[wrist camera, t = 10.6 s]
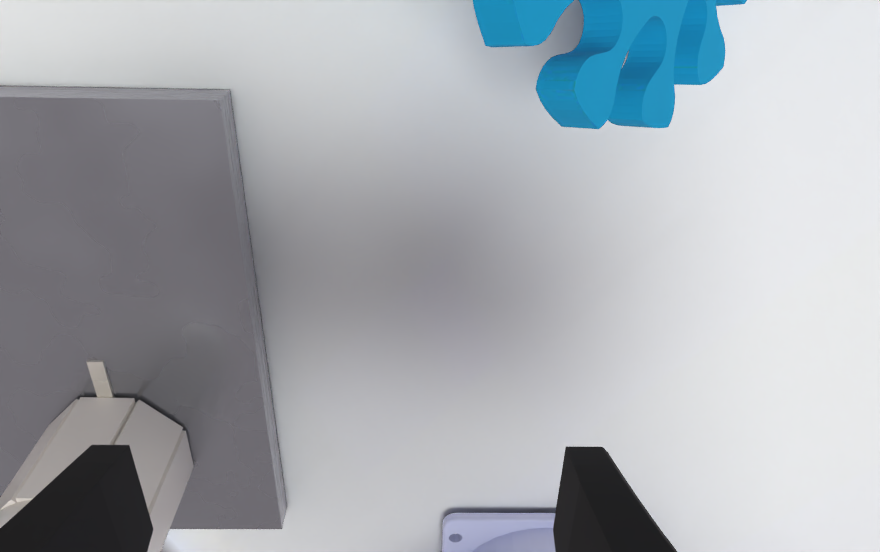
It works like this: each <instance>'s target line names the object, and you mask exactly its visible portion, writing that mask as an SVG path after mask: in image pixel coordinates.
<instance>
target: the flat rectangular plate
mask: <svg viewBox="0 0 880 552" xmlns="http://www.w3.org/2000/svg"><path fill="white" fill-rule="evenodd" d="M80 397H100V398H135V402H137V401H138V400H141V401H142V402H144V403H146V404H147V405H149V406H150V407H152V408H153V409H155V410H157V411H158V412H160V413H161V414H163V415H164V416H166V417H168V418H169V419H171V420H172V421H174V422H175V423H177V424H179V425H180V426H182V427H183V429H182V430H183V431H186V434H187V438H188V443H189V447H190V452H191V456H192V461H193V465H194V467H193V470H192V472H191V475H190V478H189V480H188V483H187V485H186V488H185V491H184V493H183V496H182V498H181V501H180V503H179V506H178V509H177V511H176V514H175V516H174V519H173V522H172V524H171V527H170V529H282V527H283V522H284V518H285V513H286V509H287V505H286V497H285V490H284V483H283V475H282V468H281V461H280V453H279V446H278V439H277V431H276V424H275V417H274V409H273V402H272V395H271V387H270V380H269V373H268V365H267V358H266V351H265V343H264V336H263V329H262V321H261V314H260V307H259V299H258V292H257V285H256V277H255V270H254V263H253V255H252V248H251V241H250V233H249V226H248V219H247V211H246V204H245V197H244V189H243V182H242V175H241V167H240V160H239V153H238V145H237V138H236V131H235V123H234V116H233V109H232V101H231V94H230V90H209V89H149V88H90V87H31V86H0V497H1V496H2V494H3V493H4V491H5V490H6V488H7V487H8V485H9V484H10V482H11V481H12V479H13V478H14V476H15V475H16V473H17V472H18V470H19V469H20V467H21V466H22V464H23V463H24V461H25V460H26V458H27V457H28V455H29V454H30V452H31V451H32V449H33V448H34V446H35V445H36V443H37V442H38V440H39V439H40V437H41V436H42V434H43V433H44V431H45V430H46V428H47V427H48V425H49V424H51V423H52V422H53V421H54V420H55V419H56V418H57V417H58V416H59V415H60V414H61V413H62V412H63V411H64V410H65V409H66V408H67V407H68V406H69V405H70V404H71V403H72V402H73V401H74V400H76V399H78V400H79V399H80Z"/></svg>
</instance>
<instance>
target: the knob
mask: <svg viewBox="0 0 880 552" xmlns="http://www.w3.org/2000/svg"><path fill="white" fill-rule="evenodd" d="M182 429H183V427H182V426H180V425H179V424H177V423H175V422H174V421H172V420H171V419H169V418H168V417H166V416H164V415H163V414H161V413H160V412H158V411H157V410H155V409H153V408H152V407H150V406H149V405H147V404H146V403H144V402H142V401H141V400H138V401H137V402H135V398H100V397H80V399H79V400H78V399H76V400H74V401H73V402H72V403H71V404H70V405H69V406H68V407H67V408H66V409H65V410H64V411H63V412H62V413H61V414H60V415H59V416H58V417H57V418H56V419H55V420H54V421H53V422H52V423H51V424H49V425H48V427H47V428H46V430H45V431H44V433H43V434H42V436H41V437H40V439H39V440H38V442H37V443H36V445H35V446H34V448H33V449H32V451H31V452H30V454H29V455H28V457H27V458H26V460H25V461H24V463H23V464H22V466H21V467H20V469H19V470H18V472H17V473H16V475H15V476H14V478H13V479H12V481H11V482H10V484H9V485H8V487H7V488H6V490H5V491H4V493H3V494H2V496H1V497H0V528H1V527H2V526H3V525H4V524H6V523H7V522H8V521H9V520H10V519H11V518H12V517H13V516H14V515H16V514H17V513H18V512H19V511H20V510H21V509H22V508H23V507H24V506H25V505H26V504H28V503H29V502H30V501H31V500H32V499H33V498H34V497H35V496H36V495H37V494H38V493H40V492H41V491H42V490H43V489H44V488H45V487H46V486H47V485H48V484H49V483H50V482H51V481H53V480H54V479H55V478H56V477H57V476H58V475H59V474H60V473H61V472H62V471H63V470H65V469H66V468H67V467H68V466H69V465H70V464H71V463H72V462H73V461H74V460H75V459H77V458H78V457H79V456H80V455H81V454H82V453H83V452H84V451H85V450H87V449H88V448H89V447H90V446H91V445H129V446H130V449H131V453H132V456H133V460H134V463H135V467H136V470H137V474H138V477H139V480H140V484H141V487H142V491H143V494H144V498H145V501H146V505H147V508H148V512H149V515H150V519H151V522H152V526H153V533H152V537H151V540H150V544H149V547H148V551H147V552H161V550H162V548H163V545H164V542H165V540H166V537H167V535H168V532H169V529H170V527H171V524H172V522H173V519H174V516H175V514H176V511H177V509H178V506H179V503H180V501H181V498H182V496H183V493H184V491H185V488H186V485H187V483H188V480H189V478H190V475H191V472H192V470H193V467H194V465H193V461H192V456H191V452H190V447H189V443H188V438H187V434H186V431H183V430H182Z"/></svg>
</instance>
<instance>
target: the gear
mask: <svg viewBox="0 0 880 552" xmlns="http://www.w3.org/2000/svg"><path fill="white" fill-rule="evenodd" d="M573 1H574V0H473V4H474V9H475V13H476V17H477V21H478V24H479V27H480V30H481V33H482V36H483V39H484V42H485V45H486V46H490V47H513V46H534V45H539V44H540V43H542V42H543V41H545V40H546V39H547V37H548V36H549V35H550V34H551V32H552V30H553V28H554V26H555V24H556V22H557V20H558V19H559V17H560V16H561V14H562V13H563V12H564V10H565V9H566V8H567V7H568V6H569V5H570V4H571V3H572V2H573ZM579 1H580V3H581V6H582V9H583V15H584V27H583V33H582V37H581V39H580V42H579V44H578V45H577V47H576V48H575V49H574V50H573V51H571V52H569V53H565V54H560V55H556V56H554V57H551V58H550V59H549V60H548V61H547V62H546V63H545V65H544V66H543V68H542V70H541V72H540V74H539V77H538V80H537V85H536V91H537V93H538V96H539V98H540V101H541V102H542V104H543V106H544V107H545V109H546V110H547V112H548V113H549V114H550V115H551V116H552V118H553V119H555V120H556V121H557V122H558V123H559V124H560V125H561V126H563V127H577V128H592V129H599V128H601V127H602V126H603V125H604V124H605V122H606V121H607V120H609V121H610V122H611V123H613V124H616V125H621V126H636V127H651V128H665V127H668V126H669V124H670V122H671V119H672V115H673V111H674V104H675V92H674V84H684V85H702V84H706V83H708V82H709V81H711V80H712V79H713V78H714V77H715V76H716V75H717V74H718V73H719V71H720V70H721V69H722V68H723V66H724V60H725V43H724V38H723V35H722V32H721V30H720V26H719V22H718V18H717V10H716V6H721V5H736V4H745V2H746V1H747V0H579ZM628 50H629V53H628V57H627V60H626V62H625V64H624V66H623V67H622V65H623V62H624V59H625V56H626V54H627V52H628ZM621 68H622V69H621Z"/></svg>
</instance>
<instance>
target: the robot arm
mask: <svg viewBox="0 0 880 552" xmlns="http://www.w3.org/2000/svg"><path fill="white" fill-rule="evenodd" d="M152 533H153V526H152V522H151V519H150V515H149V512H148V508H147V505H146V501H145V498H144V494H143V491H142V487H141V484H140V480H139V477H138V474H137V470H136V467H135V463H134V460H133V456H132V453H131V449H130V446H129V445H91V446H90V447H89V448H88V449H87V450H85V451H84V452H83V453H82V454H81V455H80V456H79V457H78V458H77V459H75V460H74V461H73V462H72V463H71V464H70V465H69V466H68V467H67V468H66V469H65V470H63V471H62V472H61V473H60V474H59V475H58V476H57V477H56V478H55V479H54V480H53V481H51V482H50V483H49V484H48V485H47V486H46V487H45V488H44V489H43V490H42V491H41V492H40V493H38V494H37V495H36V496H35V497H34V498H33V499H32V500H31V501H30V502H29V503H28V504H26V505H25V506H24V507H23V508H22V509H21V510H20V511H19V512H18V513H17V514H16V515H14V516H13V517H12V518H11V519H10V520H9V521H8V522H7V523H6V524H4V525H3V526H2V527H1V528H0V552H147V551H148V547H149V544H150V540H151V537H152ZM455 533H457V534H455ZM442 552H677V551H676V549H675V548H674V547H673V546H672V544H671V543H670V542H669V540H668V539H667V538H666V536H665V535H664V534H663V532H662V531H661V530H660V528H659V527H658V526H657V524H656V523H655V521H654V520H653V519H652V517H651V516H650V515H649V513H648V512H647V510H646V509H645V507H644V506H643V505H642V503H641V502H640V500H639V499H638V497H637V496H636V494H635V493H634V492H633V490H632V489H631V487H630V486H629V484H628V483H627V481H626V480H625V478H624V477H623V475H622V474H621V472H620V471H619V469H618V467H617V466H616V464H615V463H614V461H613V460H612V458H611V457H610V455H609V453H608V452H607V451H606V450H605V449H604V448H603V447H566V450H565V456H564V462H563V469H562V475H561V481H560V488H559V494H558V500H557V507H556V513H451V514H449V515H447V516H446V517H445V518H444V520H443V530H442Z"/></svg>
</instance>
